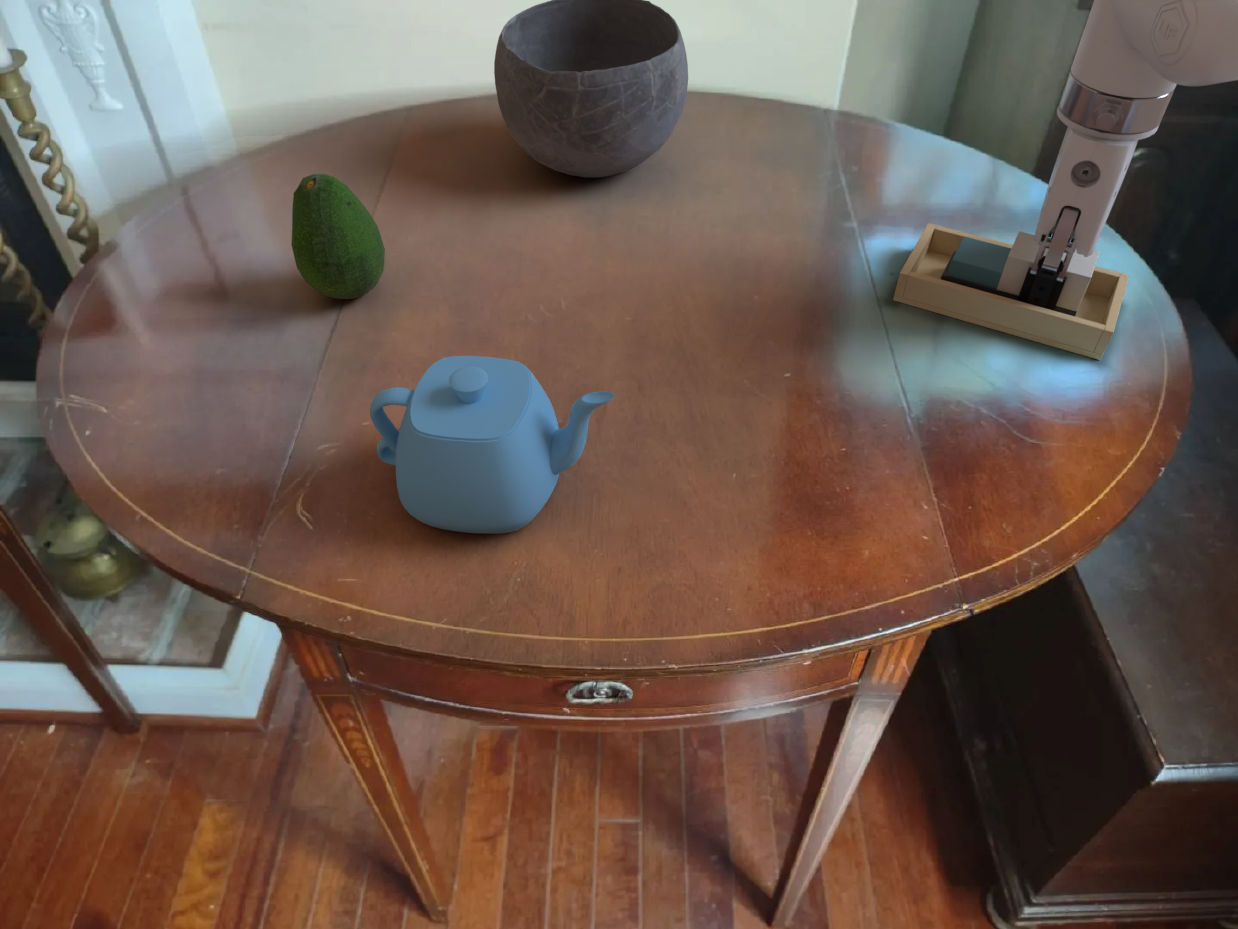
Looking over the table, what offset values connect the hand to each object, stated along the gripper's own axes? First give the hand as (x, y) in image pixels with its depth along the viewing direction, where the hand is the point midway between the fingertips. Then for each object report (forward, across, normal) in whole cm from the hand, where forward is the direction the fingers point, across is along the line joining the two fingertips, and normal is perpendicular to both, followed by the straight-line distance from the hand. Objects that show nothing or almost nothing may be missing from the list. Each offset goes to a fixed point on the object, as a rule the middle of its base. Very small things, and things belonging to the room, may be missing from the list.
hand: (1039, 293), depth 86 cm
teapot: (+2, -42, +32) cm, 53 cm away
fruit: (+2, -28, +58) cm, 64 cm away
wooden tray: (+2, 0, +3) cm, 3 cm away
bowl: (+2, +5, +50) cm, 50 cm away
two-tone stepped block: (+1, 0, +3) cm, 3 cm away
